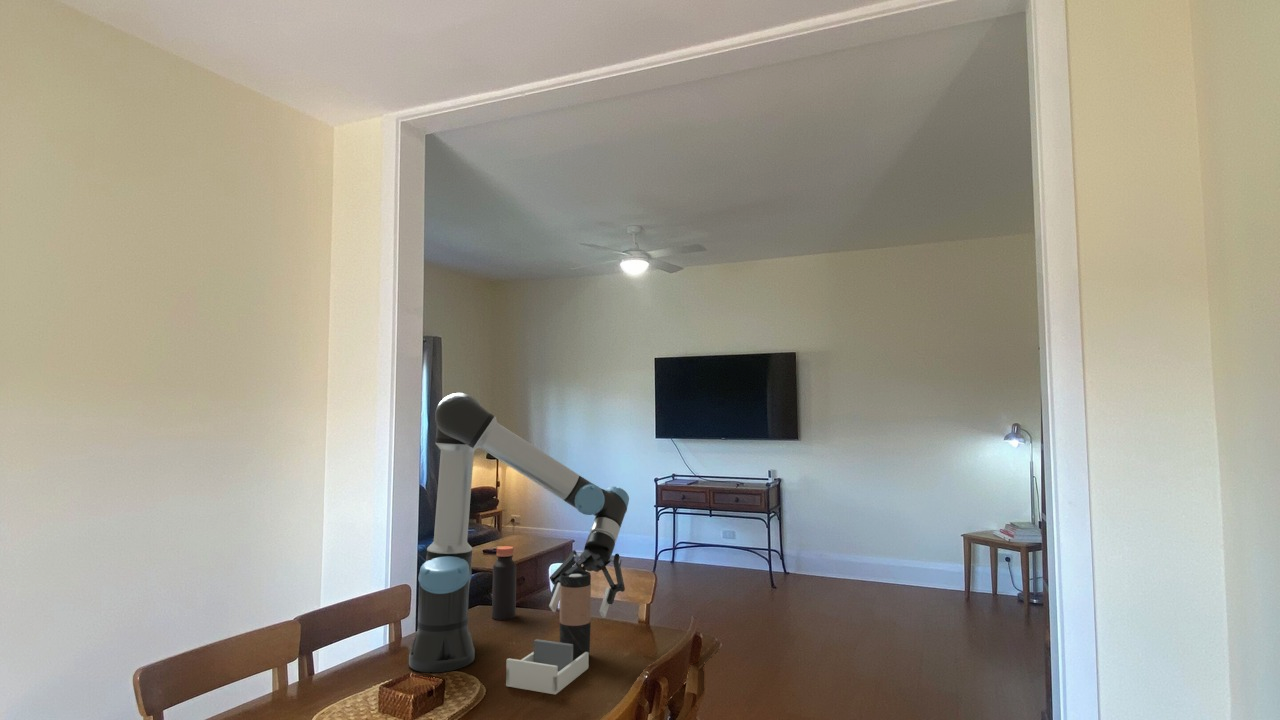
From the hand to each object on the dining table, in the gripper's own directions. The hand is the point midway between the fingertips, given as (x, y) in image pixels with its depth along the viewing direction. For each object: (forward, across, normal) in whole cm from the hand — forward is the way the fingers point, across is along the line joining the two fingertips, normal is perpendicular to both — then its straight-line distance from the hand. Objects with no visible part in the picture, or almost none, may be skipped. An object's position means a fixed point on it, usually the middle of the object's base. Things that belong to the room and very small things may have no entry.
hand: (576, 612), depth 161 cm
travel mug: (+8, 0, -8) cm, 11 cm away
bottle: (-8, +35, -24) cm, 43 cm away
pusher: (+15, +1, 0) cm, 15 cm away
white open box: (+17, +1, +1) cm, 17 cm away
